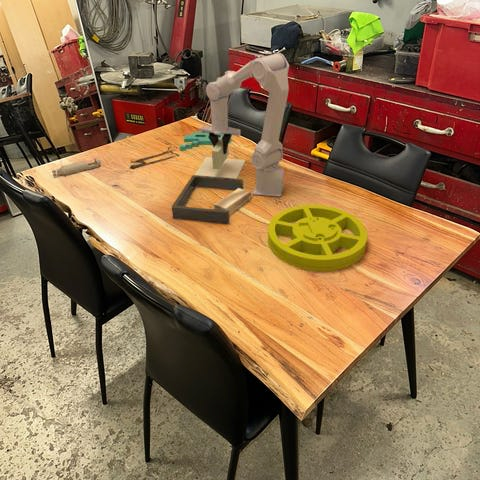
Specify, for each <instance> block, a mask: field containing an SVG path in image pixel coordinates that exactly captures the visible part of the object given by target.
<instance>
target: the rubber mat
mask: <svg viewBox="0 0 480 480" xmlns="http://www.w3.org/2000/svg"><path fill="white" fill-rule="evenodd" d="M246 162H247V161H246V159H241V158H240V159H238V158H228V157H227V158H226V160H225V161H224V163H223V165H222V166H221V168H220V169H213V161H212V156H206V157H205V158H204V160H203V161H202V163H201V164H200V165H199V167H198V169H197V170H196V171H195V173H194V175H200V176H211V177H223V178H235V179H239V175H240V173H241V171H242V169H243V167H244V165H245V163H246Z"/></svg>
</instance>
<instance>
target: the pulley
mask: <svg viewBox="0 0 480 480" xmlns="http://www.w3.org/2000/svg"><path fill="white" fill-rule="evenodd" d="M295 221H296V222H295ZM293 222H294V223H293ZM345 228H346V230H348V231H350V232H351V234H348V233H344V232H343V229H345ZM278 236H284V237H288V238H291V240H290V241H288V242H286V243H284V242H283V241H281V240H280V238H279V237H278ZM367 240H368V231H367V228H366V227H365V225H364V224H363V222H362V221H361V220H360V219H359V218H358V217H356V216H355V215H353V214H352V213H350V212H347V211H345V210H343V209H340V208H337V207H334V206H328V205H323V204H322V205H321V204H301V205H297V206H292V207H289V208H286V209H283V210H282V211H280V212H278V213H277V214H275V215H274V216H273V217H272V218H271V219H270V221H269V223H268V228H267V244H268V247H269V249H270V250H271V252H272V254H273V255H274V256H276V257H277V259H279V260H281V261H282V262H283V263H286V264H287V265H289V266H292V267H294V268H297V269H300V270H301V269H302V270H306V271H311V272H312V271H313V272H333V271H338V270H343V269H346V268H348V267H351V266H352V265H354V264H355V263H357V262H358V261H359V260H361V258H362V257H363V255H364V254H365V251H366V246H367ZM340 248H341V249H347V250H345V251H342V252H337V253H335V254H333V253H334V252H336V251H337V250H339V249H340Z"/></svg>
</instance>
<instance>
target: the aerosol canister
mask: <svg viewBox="0 0 480 480" xmlns="http://www.w3.org/2000/svg"><path fill="white" fill-rule="evenodd" d="M59 161H60V164H61V166H60V168H56V169H54V170H51V172H52V175H53V177H56V176H60V175H62V176H68V175H71V174H72V175H73V174H76V173H80V172H84V171H87V170H92V169H96V168H99V167H100V166H101V165H102V164H101V163H102V162H101V160H100V159H99V158H97V157H95V158H94V161H92V162H89V163H88V161H87V160H81V161H77V162H73V163H70V164H64V165H63V164H62V160H61V158H60V159H59Z"/></svg>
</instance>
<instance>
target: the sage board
mask: <svg viewBox="0 0 480 480" xmlns="http://www.w3.org/2000/svg"><path fill="white" fill-rule="evenodd" d="M229 152H230V151H229V146H228V147H227V153H226V154H224V153H223V141H222V137H221V138H220V140H219V141H218V143H217V144H216V145H215V147H213V148H212V150H211V157H212V161H213V169H220V168H221V166H222V165H223V163H224V161H225V160H226V158H228V157H229V155H230V153H229Z"/></svg>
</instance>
